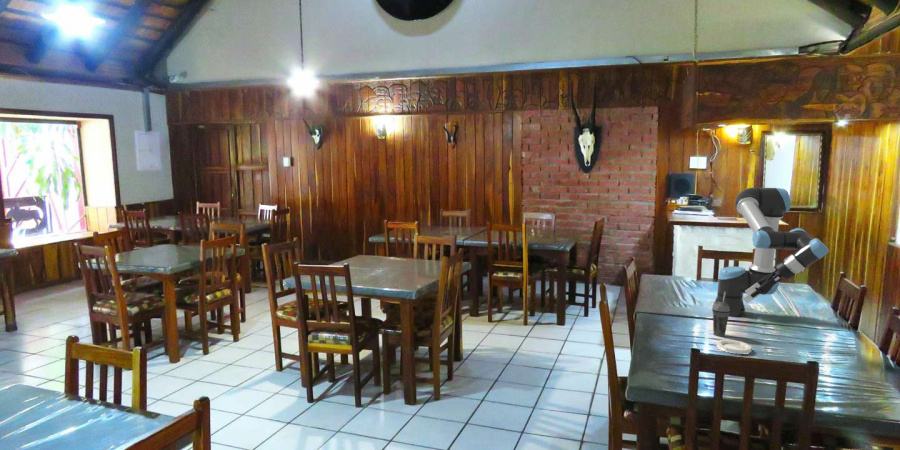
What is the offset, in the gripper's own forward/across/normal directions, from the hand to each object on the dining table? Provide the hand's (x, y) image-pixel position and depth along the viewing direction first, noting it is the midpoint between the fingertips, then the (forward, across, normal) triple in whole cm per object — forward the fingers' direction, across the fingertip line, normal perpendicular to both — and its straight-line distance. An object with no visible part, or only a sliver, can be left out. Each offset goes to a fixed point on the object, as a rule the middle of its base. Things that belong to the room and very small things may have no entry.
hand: (745, 297), depth 241 cm
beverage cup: (+20, +1, -7) cm, 21 cm away
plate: (+15, -16, -12) cm, 25 cm away
